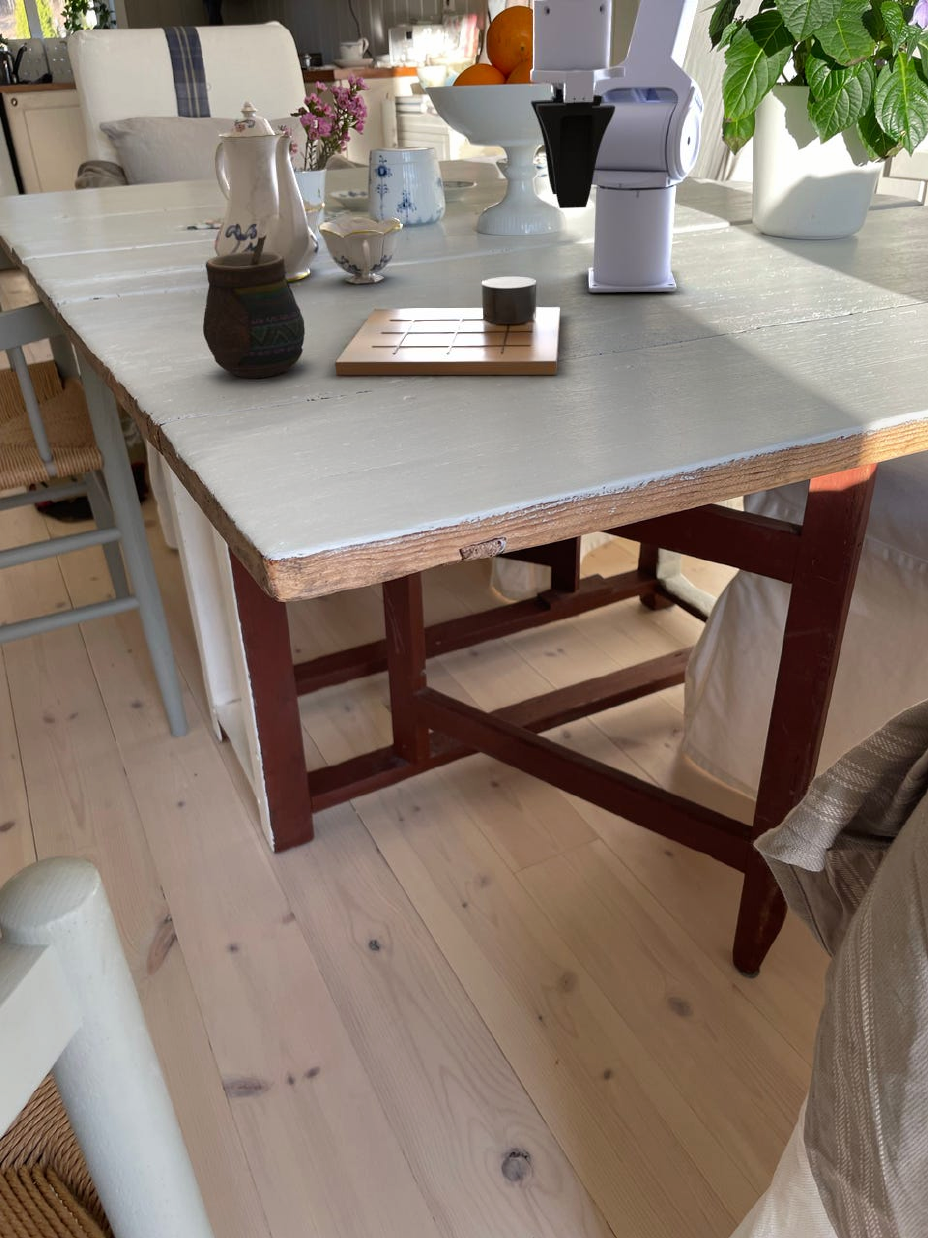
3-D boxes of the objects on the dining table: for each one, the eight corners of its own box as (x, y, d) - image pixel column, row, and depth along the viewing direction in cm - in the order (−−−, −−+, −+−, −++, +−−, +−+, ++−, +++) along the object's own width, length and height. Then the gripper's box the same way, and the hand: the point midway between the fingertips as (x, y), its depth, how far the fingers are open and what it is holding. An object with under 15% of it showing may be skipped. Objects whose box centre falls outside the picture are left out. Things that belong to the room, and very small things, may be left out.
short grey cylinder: (475, 323, 78) (474, 287, 77) (491, 310, 82) (490, 275, 80) (528, 325, 77) (528, 289, 76) (542, 312, 81) (542, 277, 79)
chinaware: (434, 294, 99) (441, 111, 92) (292, 305, 90) (286, 101, 82) (292, 259, 118) (288, 104, 111) (162, 265, 108) (147, 96, 101)
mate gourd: (274, 350, 77) (256, 216, 72) (331, 369, 72) (316, 226, 67) (194, 371, 73) (169, 229, 68) (248, 391, 68) (226, 241, 63)
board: (375, 320, 85) (374, 307, 84) (560, 318, 83) (560, 305, 82) (336, 375, 71) (334, 360, 70) (556, 374, 69) (556, 359, 69)
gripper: (641, -8, 65) (630, 211, 72) (615, 0, 77) (607, 186, 84) (535, -3, 65) (535, 215, 72) (526, 3, 77) (526, 189, 84)
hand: (568, 199), depth 78 cm, fingers open, 7 cm apart
